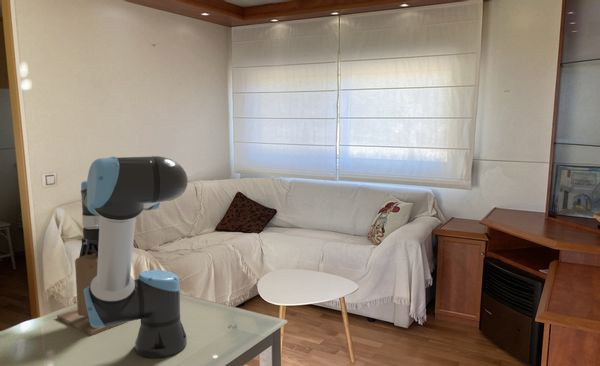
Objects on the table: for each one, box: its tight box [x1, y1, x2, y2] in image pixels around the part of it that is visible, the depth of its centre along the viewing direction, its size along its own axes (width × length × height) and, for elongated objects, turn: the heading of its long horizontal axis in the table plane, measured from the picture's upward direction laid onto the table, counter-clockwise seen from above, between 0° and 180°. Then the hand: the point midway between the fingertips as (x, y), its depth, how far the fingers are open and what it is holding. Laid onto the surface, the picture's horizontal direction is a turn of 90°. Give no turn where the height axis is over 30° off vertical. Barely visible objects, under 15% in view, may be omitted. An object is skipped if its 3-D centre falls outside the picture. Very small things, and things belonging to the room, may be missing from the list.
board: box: [56, 308, 127, 336], centre depth 160 cm, size 22×14×1 cm, turn 54°
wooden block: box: [74, 253, 98, 316], centre depth 156 cm, size 10×10×20 cm
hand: (98, 288), depth 156 cm, fingers closed on wooden block, 12 cm apart
